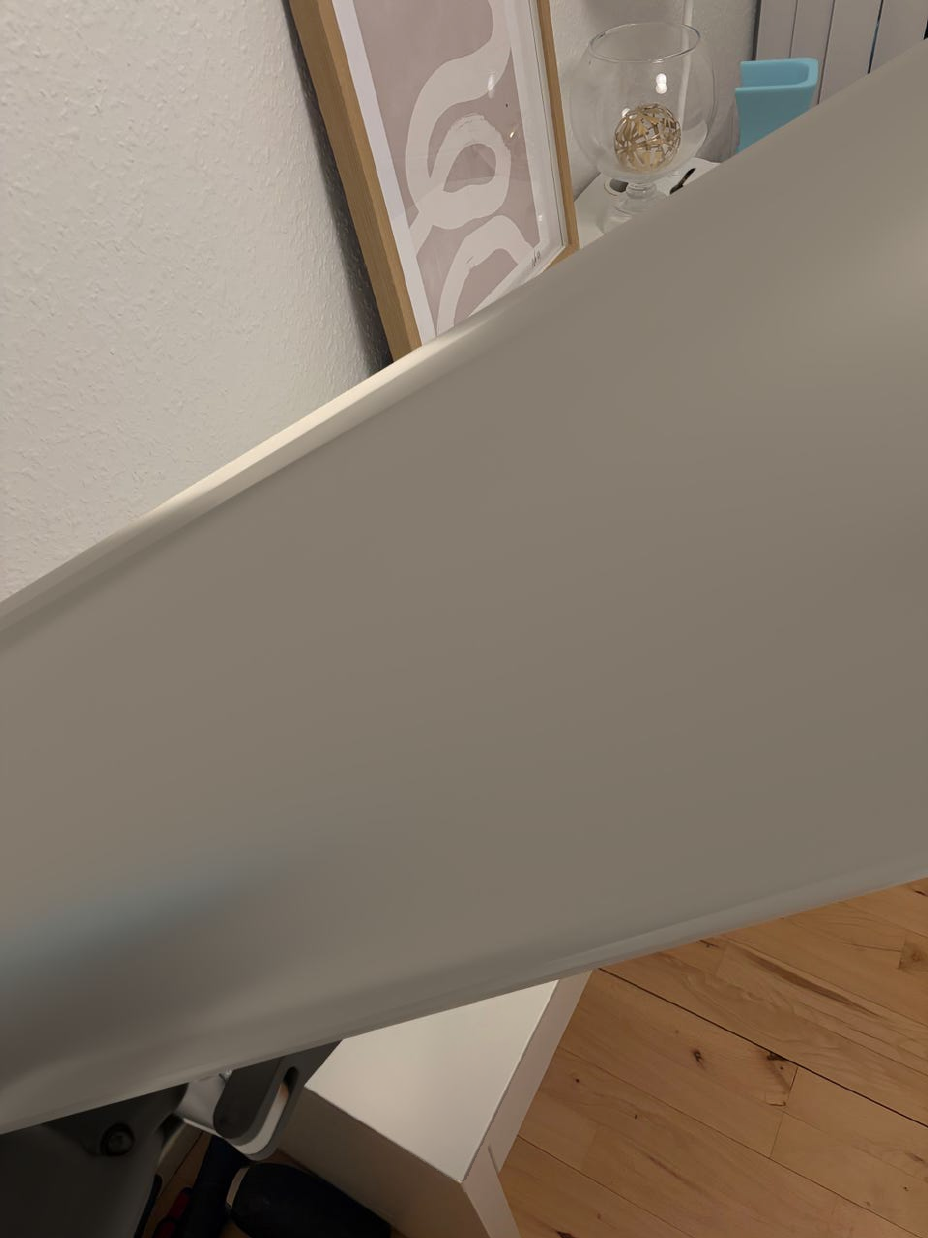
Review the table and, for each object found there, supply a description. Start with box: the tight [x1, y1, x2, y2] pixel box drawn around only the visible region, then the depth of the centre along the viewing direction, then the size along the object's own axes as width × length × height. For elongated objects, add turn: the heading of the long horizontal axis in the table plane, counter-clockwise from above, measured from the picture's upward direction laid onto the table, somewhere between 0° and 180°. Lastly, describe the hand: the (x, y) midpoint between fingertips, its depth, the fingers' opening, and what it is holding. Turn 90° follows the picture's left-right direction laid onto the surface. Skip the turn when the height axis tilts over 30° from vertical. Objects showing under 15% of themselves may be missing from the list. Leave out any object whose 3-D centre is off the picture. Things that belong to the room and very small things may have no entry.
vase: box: [734, 57, 819, 155], centre depth 102 cm, size 8×8×20 cm
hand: (259, 665), depth 38 cm, fingers open, 13 cm apart
